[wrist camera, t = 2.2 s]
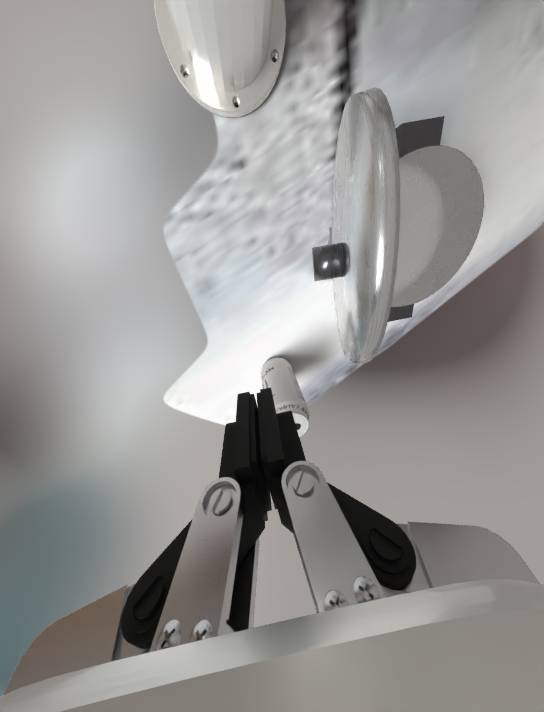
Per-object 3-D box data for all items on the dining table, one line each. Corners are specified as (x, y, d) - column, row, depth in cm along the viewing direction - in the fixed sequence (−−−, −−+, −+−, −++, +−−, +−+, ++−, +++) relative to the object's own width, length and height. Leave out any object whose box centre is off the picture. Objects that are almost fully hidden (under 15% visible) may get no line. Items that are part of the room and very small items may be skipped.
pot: (310, 163, 26) (334, 129, 19) (443, 139, 27) (514, 98, 20) (319, 319, 36) (337, 335, 29) (416, 300, 36) (457, 311, 29)
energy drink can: (262, 354, 38) (271, 408, 25) (293, 356, 39) (317, 410, 26) (259, 380, 41) (264, 443, 27) (288, 382, 42) (307, 443, 28)
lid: (344, 158, 20) (305, 168, 21) (462, -99, 5) (302, -25, 6) (344, 319, 28) (315, 322, 29) (389, 411, 13) (325, 412, 14)
